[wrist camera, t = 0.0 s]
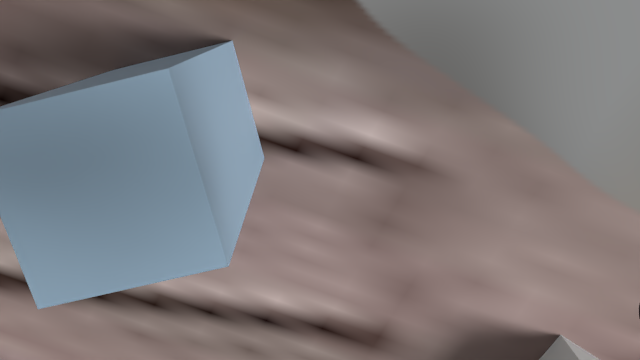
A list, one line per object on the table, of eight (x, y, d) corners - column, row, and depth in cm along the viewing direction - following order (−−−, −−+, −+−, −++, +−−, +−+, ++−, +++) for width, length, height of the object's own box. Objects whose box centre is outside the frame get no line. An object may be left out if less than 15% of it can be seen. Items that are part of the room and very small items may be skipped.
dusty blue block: (264, 158, 23) (228, 266, 14) (151, 184, 24) (38, 309, 14) (232, 40, 22) (168, 68, 12) (113, 69, 22) (-40, 119, 13)
